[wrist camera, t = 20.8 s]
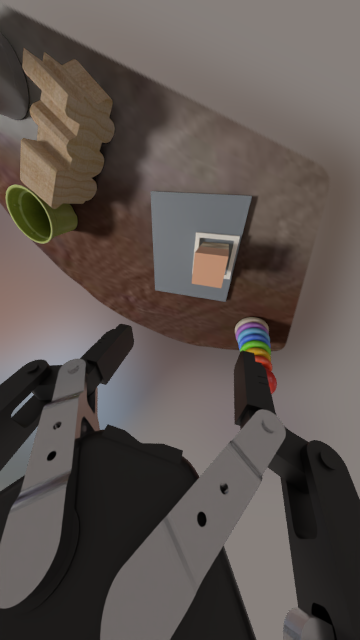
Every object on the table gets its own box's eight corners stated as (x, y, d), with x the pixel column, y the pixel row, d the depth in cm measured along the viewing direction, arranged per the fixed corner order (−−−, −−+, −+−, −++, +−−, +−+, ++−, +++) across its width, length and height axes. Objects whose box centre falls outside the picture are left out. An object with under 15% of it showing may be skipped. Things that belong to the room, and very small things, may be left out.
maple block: (200, 266, 35) (196, 274, 31) (203, 241, 32) (199, 246, 28) (223, 269, 34) (222, 277, 30) (229, 243, 31) (228, 249, 27)
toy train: (122, 108, 25) (72, 63, 17) (90, 208, 35) (49, 209, 27) (92, 75, 24) (24, 9, 16) (68, 188, 34) (18, 182, 26)
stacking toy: (272, 335, 41) (295, 407, 26) (241, 342, 45) (246, 409, 30) (262, 311, 38) (281, 377, 23) (229, 321, 42) (229, 383, 27)
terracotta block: (196, 273, 31) (191, 283, 27) (200, 246, 28) (194, 252, 24) (222, 277, 30) (221, 288, 26) (228, 249, 27) (228, 256, 23)
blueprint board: (156, 288, 42) (153, 291, 40) (152, 191, 30) (148, 190, 29) (225, 299, 39) (225, 303, 37) (251, 196, 27) (252, 195, 25)
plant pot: (46, 179, 34) (-1, 172, 27) (85, 203, 35) (50, 202, 28) (49, 224, 40) (11, 228, 33) (83, 244, 40) (53, 252, 33)
